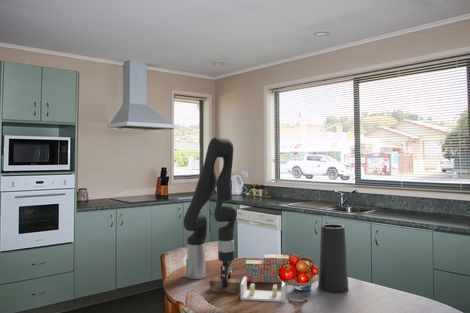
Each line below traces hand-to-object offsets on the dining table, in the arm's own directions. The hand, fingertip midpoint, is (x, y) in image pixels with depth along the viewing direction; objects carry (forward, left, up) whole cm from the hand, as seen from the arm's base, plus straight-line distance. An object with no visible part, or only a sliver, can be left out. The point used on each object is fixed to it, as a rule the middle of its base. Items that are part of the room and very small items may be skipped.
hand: (226, 284), depth 175 cm
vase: (+49, +11, -3) cm, 50 cm away
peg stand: (+18, -5, -3) cm, 18 cm away
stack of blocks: (+17, +17, -3) cm, 24 cm away
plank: (0, 0, -3) cm, 3 cm away
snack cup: (+35, +7, -3) cm, 35 cm away
